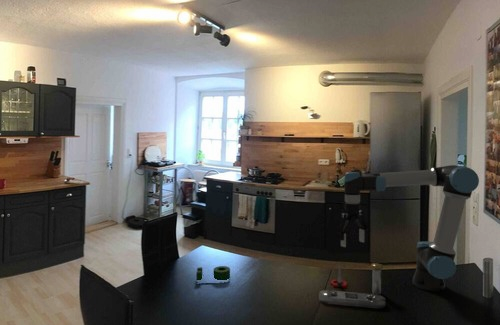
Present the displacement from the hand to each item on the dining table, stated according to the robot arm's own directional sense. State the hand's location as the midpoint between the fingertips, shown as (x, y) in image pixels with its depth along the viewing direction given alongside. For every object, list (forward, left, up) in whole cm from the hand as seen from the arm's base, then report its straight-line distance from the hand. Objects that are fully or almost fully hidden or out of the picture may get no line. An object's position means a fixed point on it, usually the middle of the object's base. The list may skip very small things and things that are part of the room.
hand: (352, 244), depth 172 cm
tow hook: (+6, -6, -24) cm, 26 cm away
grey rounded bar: (+1, +14, -24) cm, 28 cm away
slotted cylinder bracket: (+73, +3, -24) cm, 77 cm away
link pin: (-12, +1, -24) cm, 26 cm away
